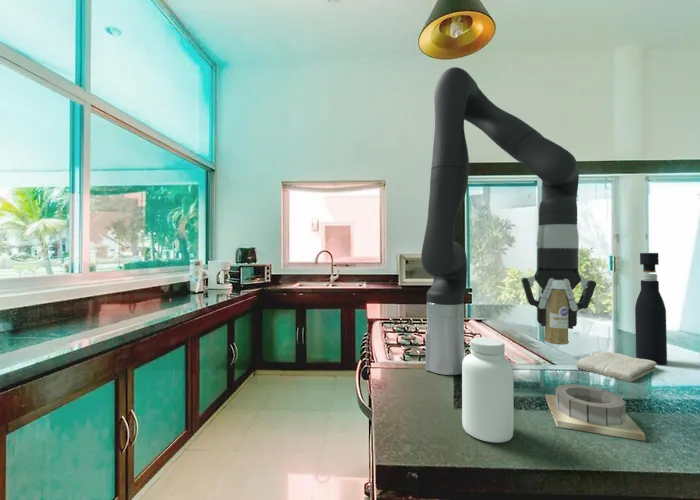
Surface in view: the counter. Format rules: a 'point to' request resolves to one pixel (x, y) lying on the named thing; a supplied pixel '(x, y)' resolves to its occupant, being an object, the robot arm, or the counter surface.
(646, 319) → the black bottle
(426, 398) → the counter surface
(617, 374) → the washcloth
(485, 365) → the pill bottle
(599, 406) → the collar
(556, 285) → the sprinkles bottle
